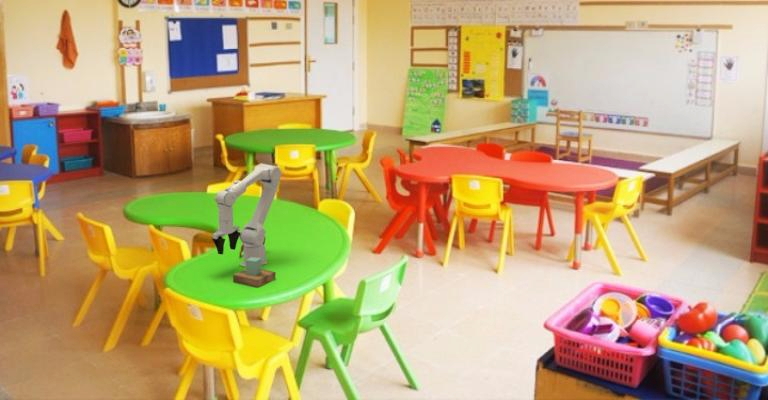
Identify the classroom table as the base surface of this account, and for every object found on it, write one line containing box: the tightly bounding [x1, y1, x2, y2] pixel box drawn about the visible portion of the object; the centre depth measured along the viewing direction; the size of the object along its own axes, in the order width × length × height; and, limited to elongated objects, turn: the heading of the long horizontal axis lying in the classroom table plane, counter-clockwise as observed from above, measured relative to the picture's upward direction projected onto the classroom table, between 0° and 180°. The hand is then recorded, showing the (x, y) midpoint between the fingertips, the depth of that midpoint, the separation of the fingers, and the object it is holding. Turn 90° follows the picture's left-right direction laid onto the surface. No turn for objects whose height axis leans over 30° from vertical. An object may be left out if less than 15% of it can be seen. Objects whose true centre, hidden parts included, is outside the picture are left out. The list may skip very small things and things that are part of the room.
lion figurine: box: [238, 236, 266, 258], centre depth 351 cm, size 15×5×9 cm, turn 140°
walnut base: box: [232, 268, 276, 288], centre depth 320 cm, size 12×12×3 cm
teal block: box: [245, 257, 262, 276], centre depth 319 cm, size 4×4×6 cm
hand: (226, 251), depth 326 cm, fingers open, 7 cm apart
